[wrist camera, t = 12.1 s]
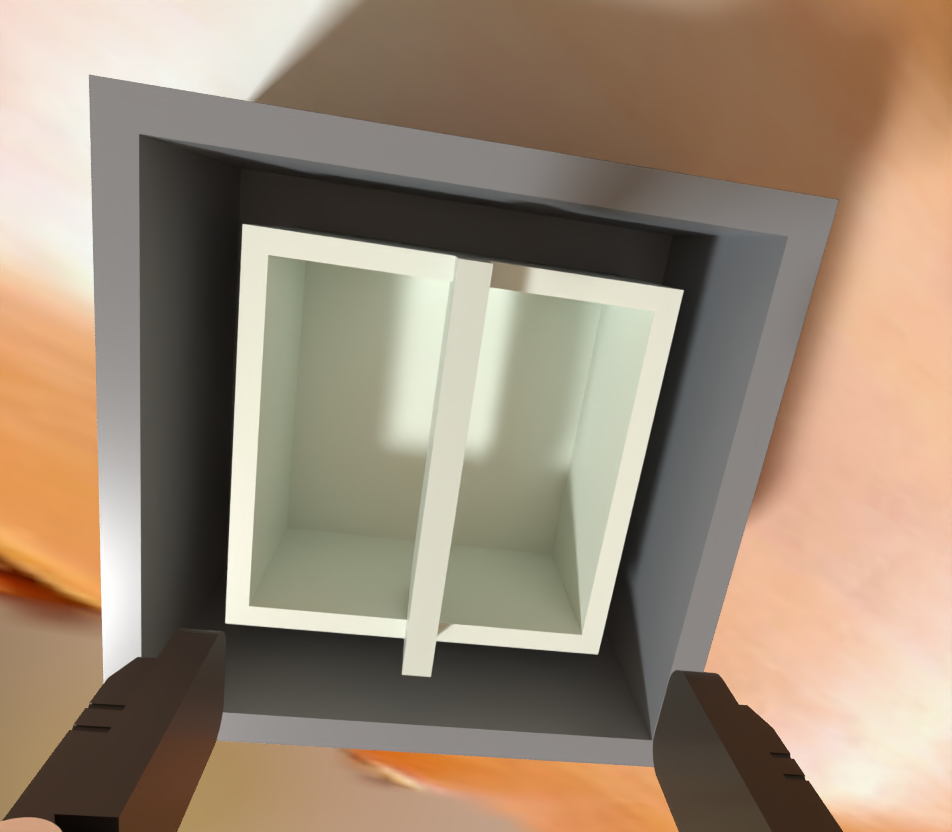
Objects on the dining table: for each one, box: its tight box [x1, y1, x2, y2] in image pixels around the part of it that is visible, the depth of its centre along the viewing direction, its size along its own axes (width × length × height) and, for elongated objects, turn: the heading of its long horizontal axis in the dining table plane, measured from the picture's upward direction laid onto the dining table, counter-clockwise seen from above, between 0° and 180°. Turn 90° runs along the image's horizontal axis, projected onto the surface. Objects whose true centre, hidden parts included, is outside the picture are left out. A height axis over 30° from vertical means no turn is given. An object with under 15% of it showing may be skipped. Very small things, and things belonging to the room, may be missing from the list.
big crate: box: [89, 75, 839, 767], centre depth 24 cm, size 20×20×10 cm
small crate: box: [225, 224, 684, 677], centre depth 24 cm, size 14×14×9 cm
